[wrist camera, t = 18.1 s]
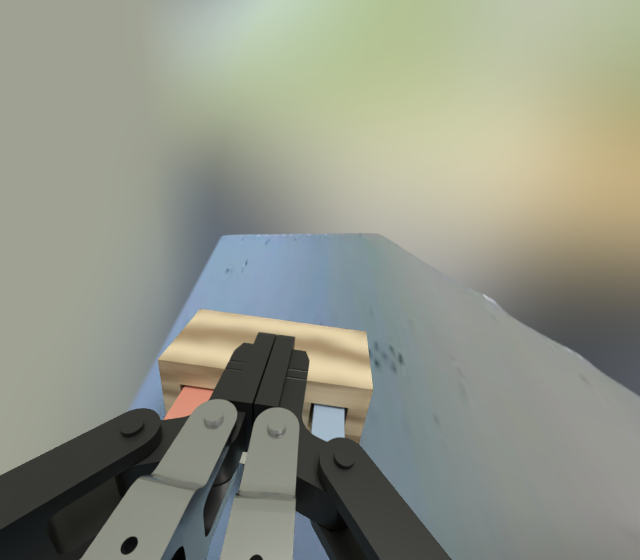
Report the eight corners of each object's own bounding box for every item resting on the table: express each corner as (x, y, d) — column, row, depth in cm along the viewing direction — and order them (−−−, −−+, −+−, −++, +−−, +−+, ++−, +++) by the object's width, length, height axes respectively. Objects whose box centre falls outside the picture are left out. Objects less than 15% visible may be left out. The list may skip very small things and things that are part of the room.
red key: (193, 457, 28) (191, 434, 27) (160, 452, 28) (156, 429, 27) (232, 375, 38) (232, 355, 37) (207, 371, 38) (206, 351, 37)
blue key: (339, 477, 28) (344, 455, 27) (306, 472, 28) (309, 450, 27) (340, 389, 38) (344, 370, 37) (315, 386, 38) (318, 367, 37)
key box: (350, 475, 36) (373, 389, 30) (171, 449, 36) (157, 359, 30) (348, 407, 45) (365, 331, 39) (205, 387, 45) (200, 308, 39)
